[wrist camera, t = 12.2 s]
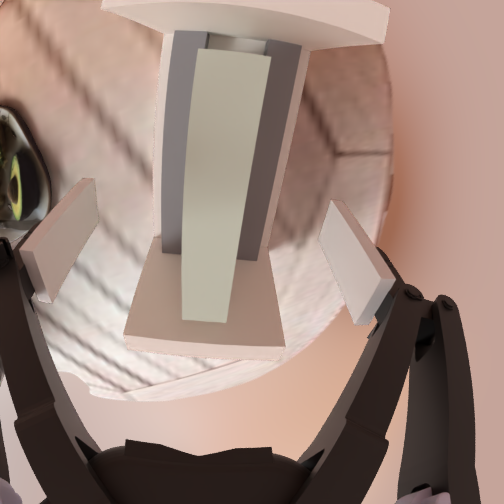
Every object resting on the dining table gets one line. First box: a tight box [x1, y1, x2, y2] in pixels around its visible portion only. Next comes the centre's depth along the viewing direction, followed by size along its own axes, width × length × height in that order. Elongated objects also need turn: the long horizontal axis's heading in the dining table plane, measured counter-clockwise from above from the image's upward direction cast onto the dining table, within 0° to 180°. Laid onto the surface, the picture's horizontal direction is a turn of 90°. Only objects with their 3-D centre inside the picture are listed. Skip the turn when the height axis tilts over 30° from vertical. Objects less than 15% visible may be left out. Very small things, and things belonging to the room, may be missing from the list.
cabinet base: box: [101, 0, 390, 361], centre depth 19 cm, size 24×12×14 cm, turn 171°
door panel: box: [181, 48, 271, 323], centre depth 19 cm, size 16×3×12 cm, turn 171°
